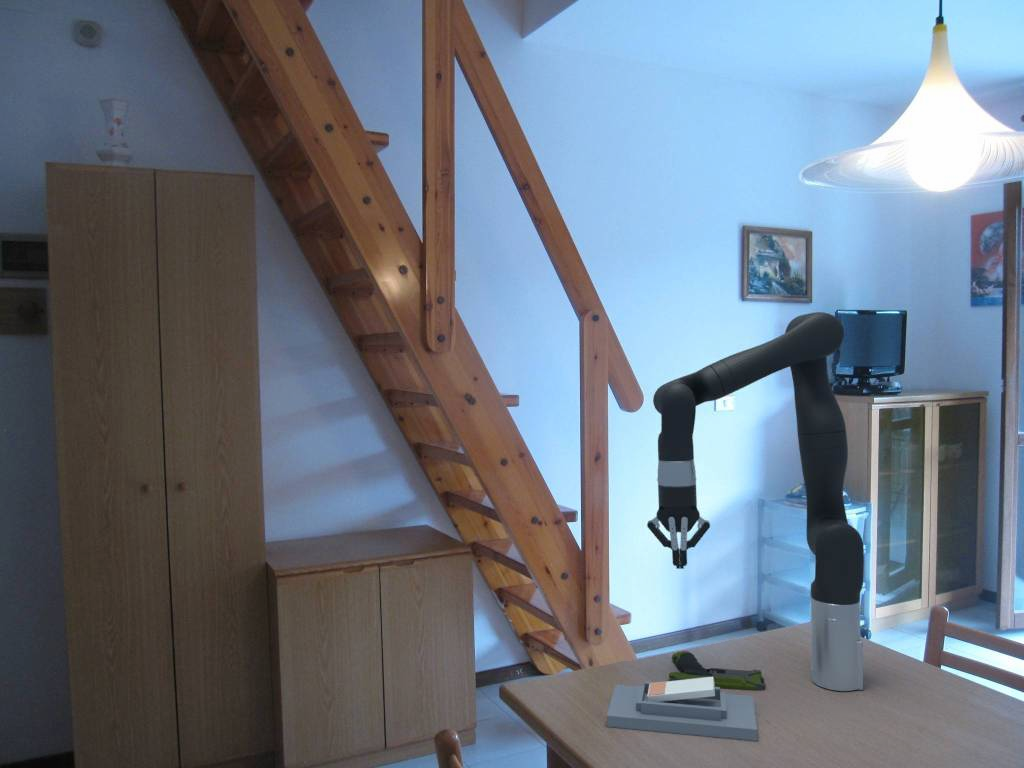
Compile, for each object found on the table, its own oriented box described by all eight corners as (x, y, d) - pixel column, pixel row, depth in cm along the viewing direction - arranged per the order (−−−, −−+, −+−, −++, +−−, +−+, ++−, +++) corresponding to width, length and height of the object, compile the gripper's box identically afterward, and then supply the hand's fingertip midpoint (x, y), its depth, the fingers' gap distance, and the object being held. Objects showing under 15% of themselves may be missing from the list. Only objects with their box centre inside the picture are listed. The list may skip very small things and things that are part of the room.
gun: (758, 666, 168) (766, 697, 154) (668, 660, 172) (669, 689, 157) (758, 655, 168) (766, 684, 154) (668, 649, 172) (669, 677, 157)
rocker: (714, 682, 145) (713, 675, 145) (714, 696, 139) (713, 688, 139) (650, 689, 148) (649, 682, 148) (648, 702, 142) (647, 695, 142)
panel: (752, 706, 147) (752, 685, 147) (757, 741, 134) (757, 718, 134) (615, 694, 154) (615, 674, 153) (606, 726, 140) (606, 704, 140)
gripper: (710, 479, 158) (713, 563, 158) (644, 479, 161) (647, 562, 161) (711, 484, 151) (714, 573, 151) (642, 485, 154) (645, 572, 154)
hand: (679, 567), depth 156 cm, fingers closed
